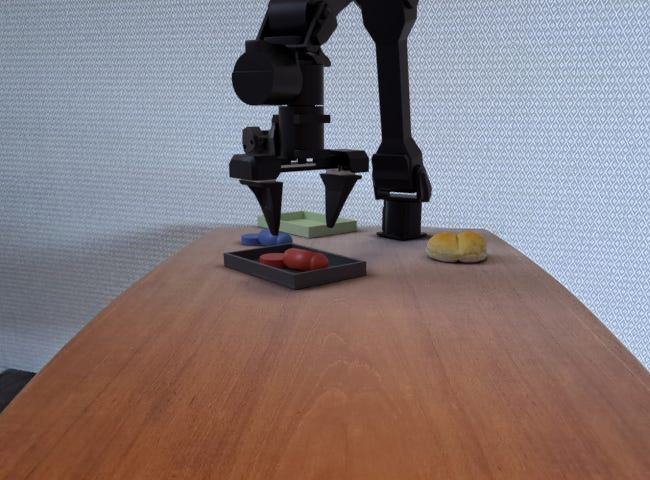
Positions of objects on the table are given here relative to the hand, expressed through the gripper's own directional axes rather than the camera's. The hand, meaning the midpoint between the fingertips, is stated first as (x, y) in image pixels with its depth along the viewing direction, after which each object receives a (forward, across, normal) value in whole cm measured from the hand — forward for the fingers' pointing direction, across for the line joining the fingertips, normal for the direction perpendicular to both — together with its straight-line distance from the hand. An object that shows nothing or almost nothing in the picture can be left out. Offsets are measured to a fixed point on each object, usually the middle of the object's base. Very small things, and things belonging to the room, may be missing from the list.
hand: (303, 231), depth 90 cm
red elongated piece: (+5, 0, -2) cm, 6 cm away
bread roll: (+6, -24, +6) cm, 26 cm away
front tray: (+6, 0, -3) cm, 6 cm away
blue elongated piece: (+6, -7, -20) cm, 22 cm away
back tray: (+6, -22, -29) cm, 37 cm away
